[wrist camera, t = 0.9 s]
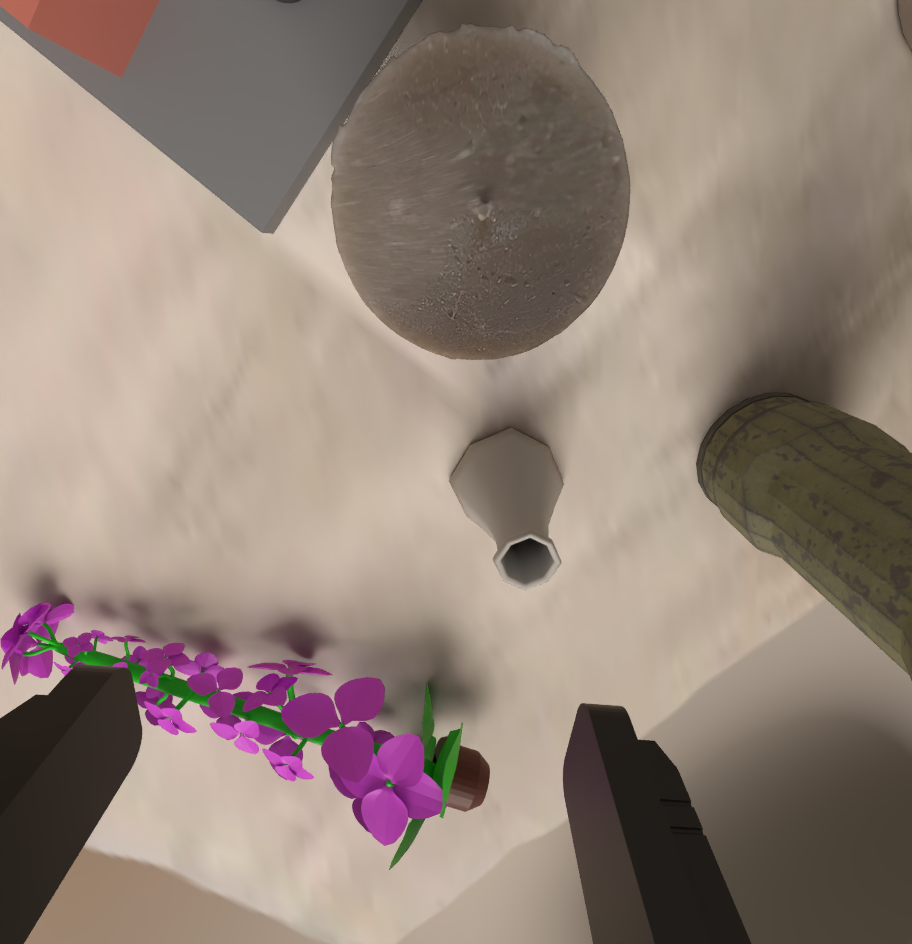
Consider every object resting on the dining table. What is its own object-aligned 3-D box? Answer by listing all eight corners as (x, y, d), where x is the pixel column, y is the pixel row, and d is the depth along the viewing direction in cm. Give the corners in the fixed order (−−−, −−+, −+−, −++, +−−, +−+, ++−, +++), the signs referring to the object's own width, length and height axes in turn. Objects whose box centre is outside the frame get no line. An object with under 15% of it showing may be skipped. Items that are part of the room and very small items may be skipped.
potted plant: (468, 723, 49) (98, 606, 47) (535, 676, 37) (30, 511, 34) (436, 886, 42) (-8, 757, 39) (507, 900, 29) (-147, 709, 26)
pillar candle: (521, 339, 32) (583, 403, 18) (360, 295, 30) (293, 327, 17) (575, 159, 28) (707, 65, 14) (397, 102, 27) (351, -61, 13)
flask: (512, 406, 33) (538, 467, 24) (581, 482, 36) (629, 564, 26) (429, 478, 35) (424, 560, 26) (500, 546, 37) (519, 644, 28)
